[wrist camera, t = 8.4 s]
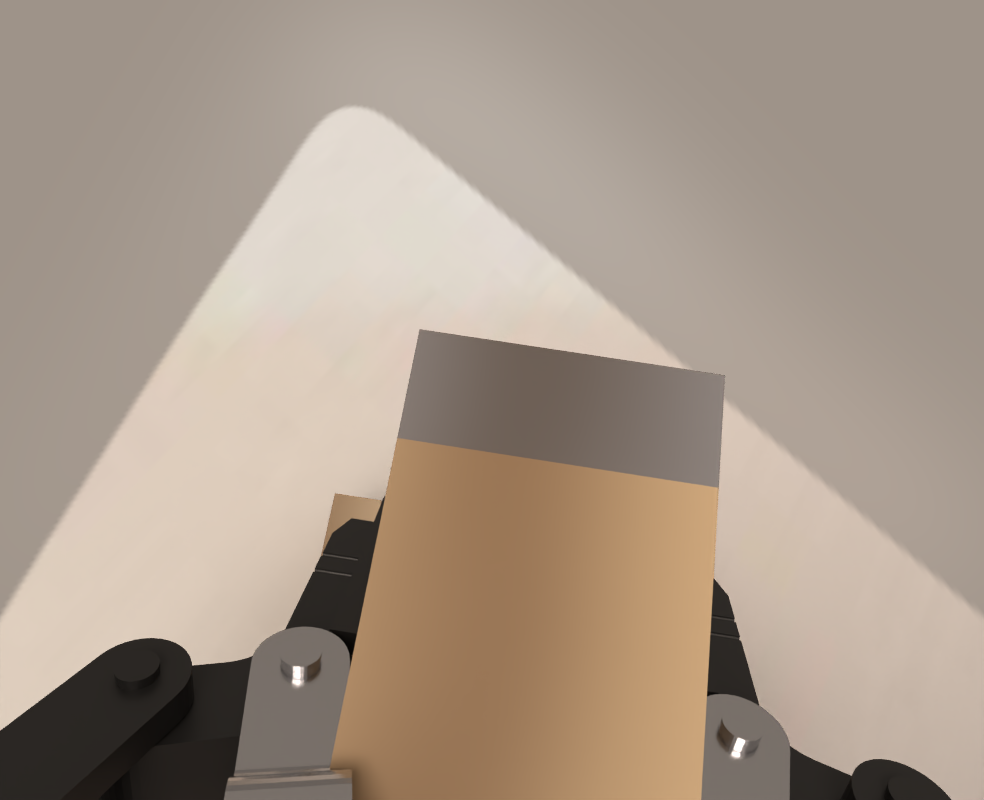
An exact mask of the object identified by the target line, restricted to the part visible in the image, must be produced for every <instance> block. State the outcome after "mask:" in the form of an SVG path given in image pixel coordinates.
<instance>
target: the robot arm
mask: <svg viewBox="0 0 984 800" xmlns="http://www.w3.org/2000/svg"><path fill="white" fill-rule="evenodd" d="M384 501H385V497H384V498H383V500H382V503H381V505H380V508H379V510H378V513H377V515H376V517H375V520H374V522H373V521H367V520H360V519H354V518H351V519H350V520H349V521H347V522H346V523H345V524H343V525H342V526H341V527H339V528H338V529H337V530H336V531H334V532H333V533H332V534H331V537H330V539H329V541H328V543H327V545H326V547H325V549H324V551H323V555H322V556H321V557H320V559H319V561H318V563H317V565H316V567H315V572H313V573H312V576H311V578H310V580H309V582H308V584H307V586H306V588H305V590H304V592H303V594H302V596H301V598H300V600H299V602H298V604H297V606H296V608H295V610H294V613H293V615H292V617H291V619H290V621H289V623H288V625H287V627H286V629H285V630H283V631H280V632H278V633H276V634H274V635H272V636H270V637H269V638H267V639H266V640H265V641H264V642H262V643H261V644H260V646H259V647H258V648H257V649H256V651H255V653H254V655H253V656H252V657H249V658H246V659H242V660H238V661H233V662H226V663H215V664H205V665H194V666H192V662H191V659H190V656H189V654H188V653H187V651H186V650H185V649H184V648H183V647H181V646H180V645H178V644H176V643H174V642H171V641H169V640H164V639H157V638H145V639H138V640H133V641H129V642H125V643H123V644H120V645H117V646H115V647H113V648H111V649H109V650H107V651H106V652H104V653H103V654H101V655H100V656H99V657H97V658H96V659H95V660H93V661H92V662H91V663H89V664H88V665H87V666H85V667H84V668H83V669H81V670H80V671H79V672H77V673H76V674H75V675H73V676H72V677H71V678H70V679H68V680H67V681H66V682H64V683H63V684H62V685H60V686H59V687H58V688H56V689H55V690H54V691H52V692H51V693H50V694H48V695H47V696H46V697H44V698H43V699H42V700H40V701H39V702H38V703H36V704H35V705H34V706H32V707H31V708H30V709H28V710H27V711H26V712H24V713H23V714H22V715H21V716H19V717H18V718H17V719H15V720H14V721H13V722H11V723H10V724H9V725H7V726H6V727H5V728H3V729H2V730H1V731H0V800H352V770H351V769H338V768H330V764H331V759H332V754H333V749H334V744H335V739H336V734H337V730H338V725H339V720H340V715H341V710H342V705H343V700H344V696H345V691H346V686H347V681H348V676H349V671H350V666H351V661H352V657H353V652H354V647H355V642H356V637H357V632H358V627H359V623H360V618H361V613H362V608H363V603H364V598H365V593H366V588H367V584H368V579H369V574H370V569H371V564H372V559H373V554H374V549H375V545H376V540H377V535H378V530H379V525H380V520H381V515H382V511H383V506H384ZM734 619H735V618H734V614H733V611H732V607H731V604H730V600H729V597H728V595H727V594H726V593H725V592H724V590H723V589H722V588H721V587H720V585H719V584H718V583H717V582H716V580H715V579H713V596H712V614H711V632H710V650H709V668H708V686H707V703H706V721H705V739H704V757H703V775H702V793H701V800H951V799H950V798H949V796H948V795H947V794H946V793H945V792H944V791H943V790H942V789H941V788H940V787H939V786H938V785H936V784H935V783H934V782H933V781H932V780H930V779H929V778H927V777H926V776H925V775H923V774H921V773H920V772H918V771H916V770H915V769H912V768H910V767H908V766H906V765H903V764H901V763H898V762H894V761H890V760H883V759H873V760H868V761H865V762H863V763H861V764H860V765H859V766H858V767H857V768H856V769H855V771H854V772H853V774H852V776H850V775H848V774H846V773H843V772H841V771H839V770H836V769H834V768H832V767H829V766H827V765H825V764H822V763H820V762H818V761H815V760H813V759H811V758H809V757H807V756H805V755H803V754H801V753H800V752H798V751H796V750H795V749H793V748H792V747H791V746H790V744H789V741H788V738H787V735H786V733H785V731H784V730H783V728H782V727H781V725H780V724H779V723H778V722H777V720H776V719H775V718H774V717H773V716H772V715H771V714H769V713H768V712H767V711H766V710H764V709H763V708H762V707H760V706H759V703H758V699H757V696H756V692H755V689H754V685H753V682H752V678H751V674H750V671H749V667H748V664H747V660H746V657H745V653H744V650H743V646H742V643H741V641H739V637H740V636H739V632H738V629H737V625H736V623H735V622H734Z"/></svg>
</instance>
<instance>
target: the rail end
mask: <svg viewBox="0 0 984 800" xmlns="http://www.w3.org/2000/svg"><path fill="white" fill-rule="evenodd" d="M724 382H725V375H720V374H713V373H706V372H700V371H693V370H687V369H680V368H673V367H667V366H660V365H653V364H647V363H640V362H633V361H627V360H620V359H614V358H607V357H600V356H594V355H587V354H580V353H574V352H567V351H560V350H554V349H547V348H540V347H534V346H527V345H520V344H514V343H507V342H501V341H494V340H487V339H481V338H474V337H467V336H461V335H454V334H447V333H441V332H434V331H427V330H421V329H420V330H419V335H418V340H417V345H416V350H415V355H414V360H413V364H412V369H411V374H410V379H409V384H408V389H407V394H406V399H405V403H404V408H403V413H402V418H401V423H400V428H399V433H398V437H397V442H396V447H395V452H394V457H393V462H392V467H391V472H390V476H389V481H388V486H387V491H386V496H385V501H384V506H383V511H382V515H381V520H380V525H379V530H378V535H377V540H376V545H375V549H374V554H373V559H372V564H371V569H370V574H369V579H368V584H367V588H366V593H365V598H364V603H363V608H362V613H361V618H360V623H359V627H358V632H357V637H356V642H355V647H354V652H353V657H352V661H351V666H350V671H349V676H348V681H347V686H346V691H345V696H344V700H343V705H342V710H341V715H340V720H339V725H338V730H337V734H336V739H335V744H334V749H333V754H332V759H331V764H330V768H338V769H351V770H352V800H701V793H702V775H703V757H704V739H705V721H706V703H707V686H708V668H709V650H710V632H711V614H712V596H713V579H714V561H715V543H716V525H717V507H718V489H719V472H720V454H721V436H722V418H723V400H724Z"/></svg>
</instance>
